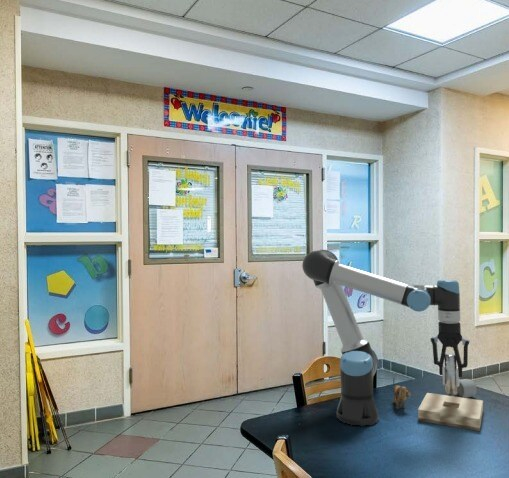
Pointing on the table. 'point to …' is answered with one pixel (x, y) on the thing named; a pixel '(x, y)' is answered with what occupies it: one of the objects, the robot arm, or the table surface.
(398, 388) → the lion figurine
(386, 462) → the table surface
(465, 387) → the ceramic mug
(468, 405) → the maple block
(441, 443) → the table surface
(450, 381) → the metal peg
